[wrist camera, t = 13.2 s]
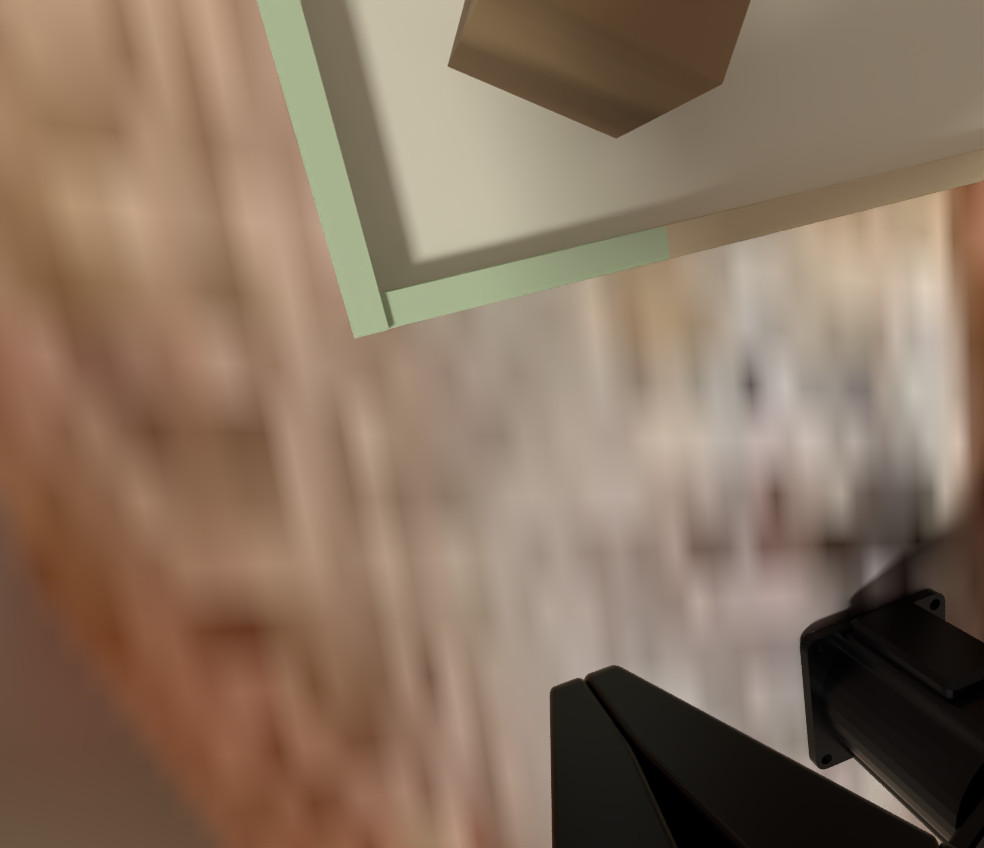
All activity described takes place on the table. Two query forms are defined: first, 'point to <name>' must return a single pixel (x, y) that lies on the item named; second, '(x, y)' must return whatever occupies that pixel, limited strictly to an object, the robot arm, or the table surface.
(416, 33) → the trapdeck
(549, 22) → the block
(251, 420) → the table surface
